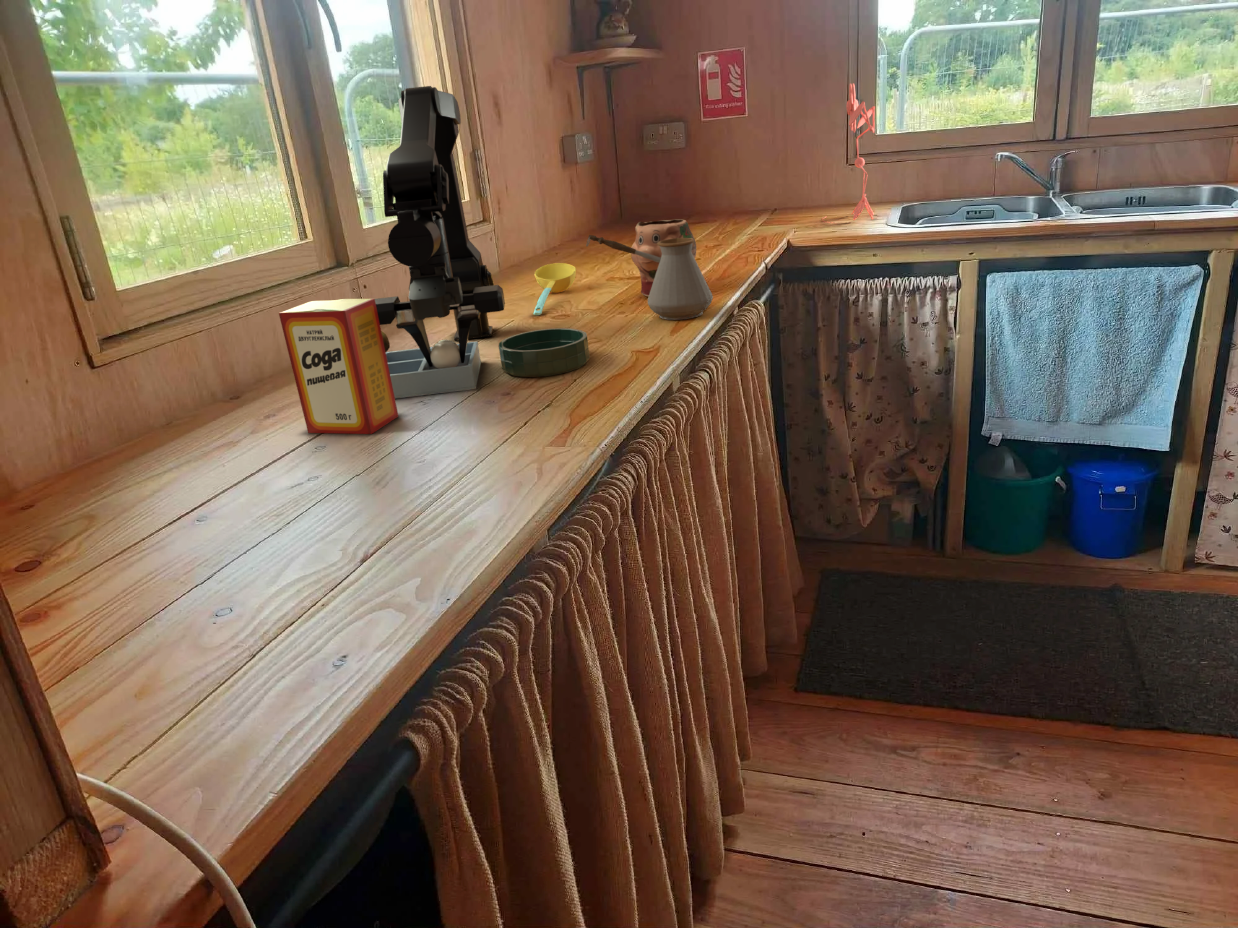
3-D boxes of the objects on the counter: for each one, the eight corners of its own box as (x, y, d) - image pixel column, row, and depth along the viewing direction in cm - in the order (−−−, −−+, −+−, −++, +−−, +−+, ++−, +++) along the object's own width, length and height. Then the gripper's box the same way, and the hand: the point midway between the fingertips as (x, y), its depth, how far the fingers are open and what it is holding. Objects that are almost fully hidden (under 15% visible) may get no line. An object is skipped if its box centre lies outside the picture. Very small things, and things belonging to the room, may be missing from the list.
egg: (435, 366, 128) (430, 338, 127) (464, 362, 128) (459, 334, 127) (431, 376, 123) (426, 347, 122) (461, 372, 123) (456, 343, 122)
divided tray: (387, 373, 136) (383, 352, 135) (481, 362, 137) (477, 341, 136) (371, 401, 123) (366, 378, 121) (475, 389, 123) (471, 365, 122)
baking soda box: (308, 432, 112) (277, 310, 106) (337, 415, 118) (310, 298, 112) (371, 433, 109) (344, 307, 103) (398, 416, 115) (374, 295, 109)
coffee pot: (715, 305, 158) (710, 220, 152) (711, 320, 148) (706, 230, 142) (600, 313, 162) (591, 230, 156) (588, 328, 151) (578, 240, 146)
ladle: (580, 281, 189) (578, 256, 186) (562, 338, 167) (559, 311, 164) (540, 283, 190) (537, 258, 187) (517, 339, 169) (513, 312, 165)
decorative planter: (653, 282, 185) (647, 215, 179) (709, 280, 181) (705, 211, 175) (623, 304, 167) (616, 229, 162) (685, 302, 163) (680, 226, 158)
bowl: (504, 359, 137) (500, 334, 136) (587, 349, 138) (584, 324, 136) (501, 382, 125) (497, 355, 124) (592, 371, 126) (589, 344, 124)
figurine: (876, 211, 254) (878, 80, 240) (876, 224, 231) (878, 80, 218) (822, 214, 258) (821, 86, 245) (817, 227, 235) (815, 86, 222)
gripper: (347, 272, 112) (372, 388, 118) (493, 255, 113) (510, 371, 119) (363, 259, 122) (385, 366, 128) (496, 244, 123) (512, 351, 129)
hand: (447, 364), depth 126 cm, fingers closed on egg, 4 cm apart
